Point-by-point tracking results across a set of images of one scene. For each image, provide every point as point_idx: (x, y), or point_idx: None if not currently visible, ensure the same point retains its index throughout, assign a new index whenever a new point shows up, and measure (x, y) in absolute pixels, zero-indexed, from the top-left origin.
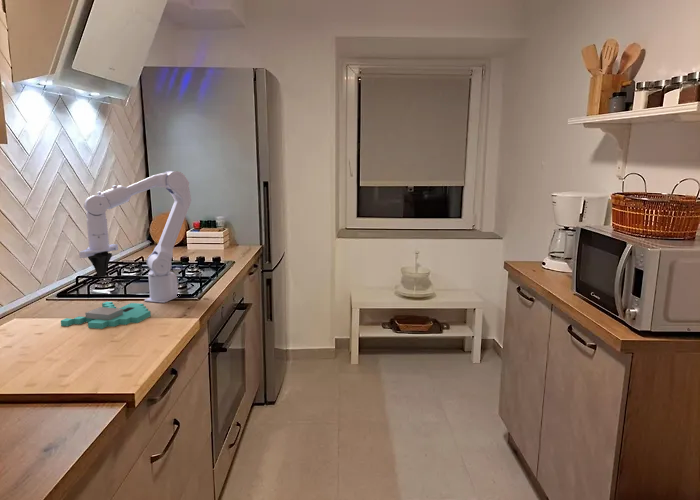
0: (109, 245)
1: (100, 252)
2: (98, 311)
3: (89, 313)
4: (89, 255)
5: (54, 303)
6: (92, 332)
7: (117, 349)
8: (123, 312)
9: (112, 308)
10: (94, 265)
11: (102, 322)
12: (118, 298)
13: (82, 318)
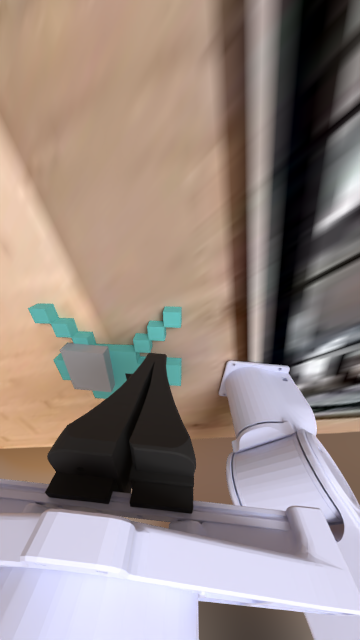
0: (252, 603)
1: (120, 512)
2: (79, 366)
3: (63, 357)
4: (8, 493)
5: (175, 75)
6: (50, 369)
7: (33, 415)
8: (122, 380)
9: (105, 377)
10: (122, 391)
11: (66, 378)
12: (255, 291)
13: (64, 336)
